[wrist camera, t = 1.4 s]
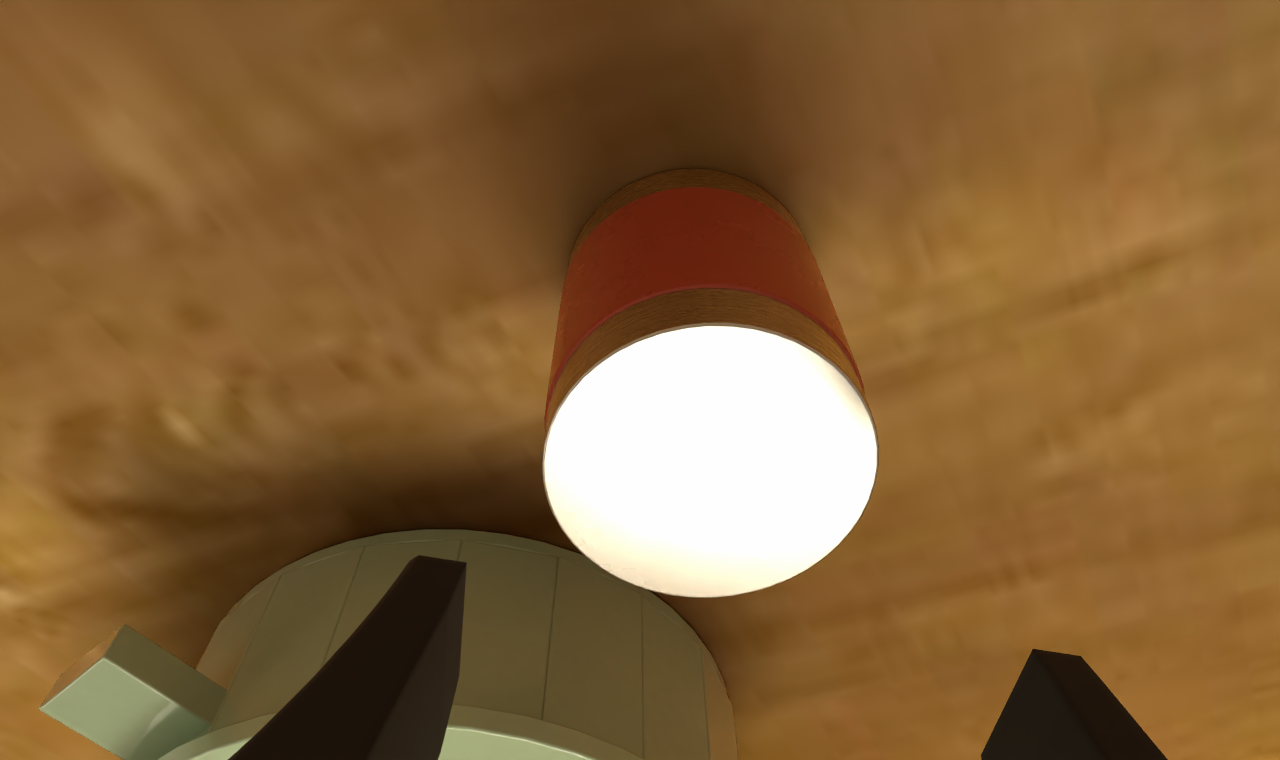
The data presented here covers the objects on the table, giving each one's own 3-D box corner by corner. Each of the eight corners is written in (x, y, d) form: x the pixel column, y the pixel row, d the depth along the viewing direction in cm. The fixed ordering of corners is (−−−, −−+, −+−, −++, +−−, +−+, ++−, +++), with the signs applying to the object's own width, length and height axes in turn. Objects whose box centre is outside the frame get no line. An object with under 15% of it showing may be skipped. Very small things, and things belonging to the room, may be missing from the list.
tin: (559, 385, 23) (534, 592, 17) (569, 156, 20) (543, 307, 14) (792, 399, 23) (848, 609, 17) (834, 175, 21) (917, 333, 15)
